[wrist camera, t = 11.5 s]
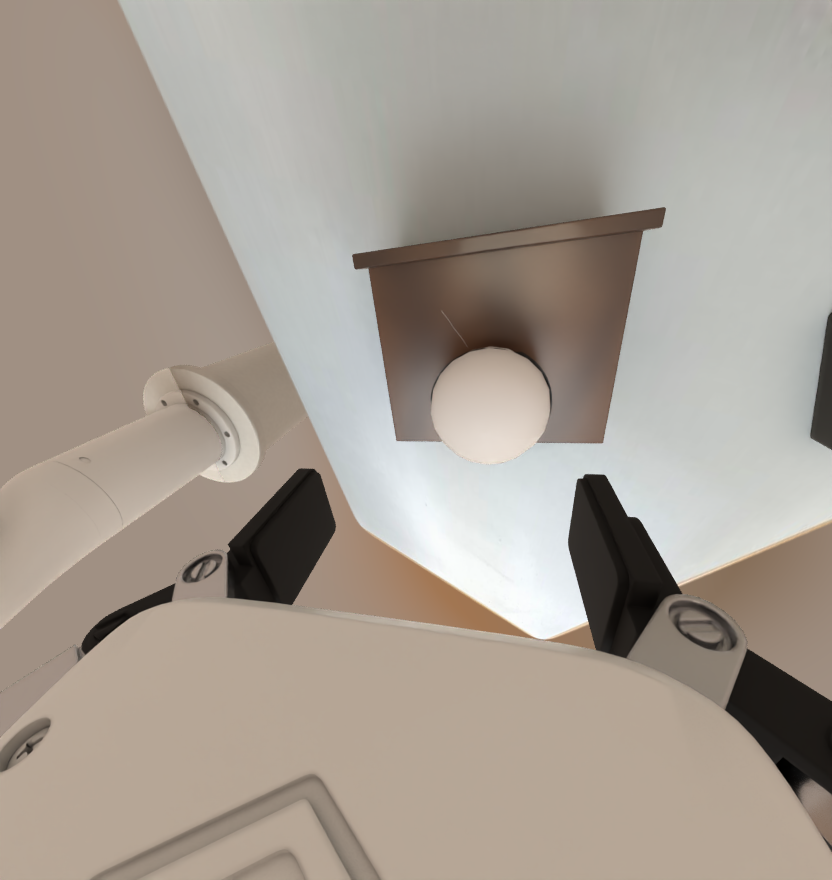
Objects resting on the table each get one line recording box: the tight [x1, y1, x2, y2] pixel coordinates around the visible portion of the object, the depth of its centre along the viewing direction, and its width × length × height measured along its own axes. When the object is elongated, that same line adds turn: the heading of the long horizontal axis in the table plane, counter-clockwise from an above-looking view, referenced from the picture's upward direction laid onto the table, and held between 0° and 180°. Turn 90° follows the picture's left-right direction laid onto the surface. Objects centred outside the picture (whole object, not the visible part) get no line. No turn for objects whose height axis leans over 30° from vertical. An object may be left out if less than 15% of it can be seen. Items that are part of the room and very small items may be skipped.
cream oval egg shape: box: [430, 312, 552, 464], centre depth 19 cm, size 10×7×7 cm
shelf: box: [352, 207, 666, 443], centre depth 24 cm, size 16×14×10 cm
